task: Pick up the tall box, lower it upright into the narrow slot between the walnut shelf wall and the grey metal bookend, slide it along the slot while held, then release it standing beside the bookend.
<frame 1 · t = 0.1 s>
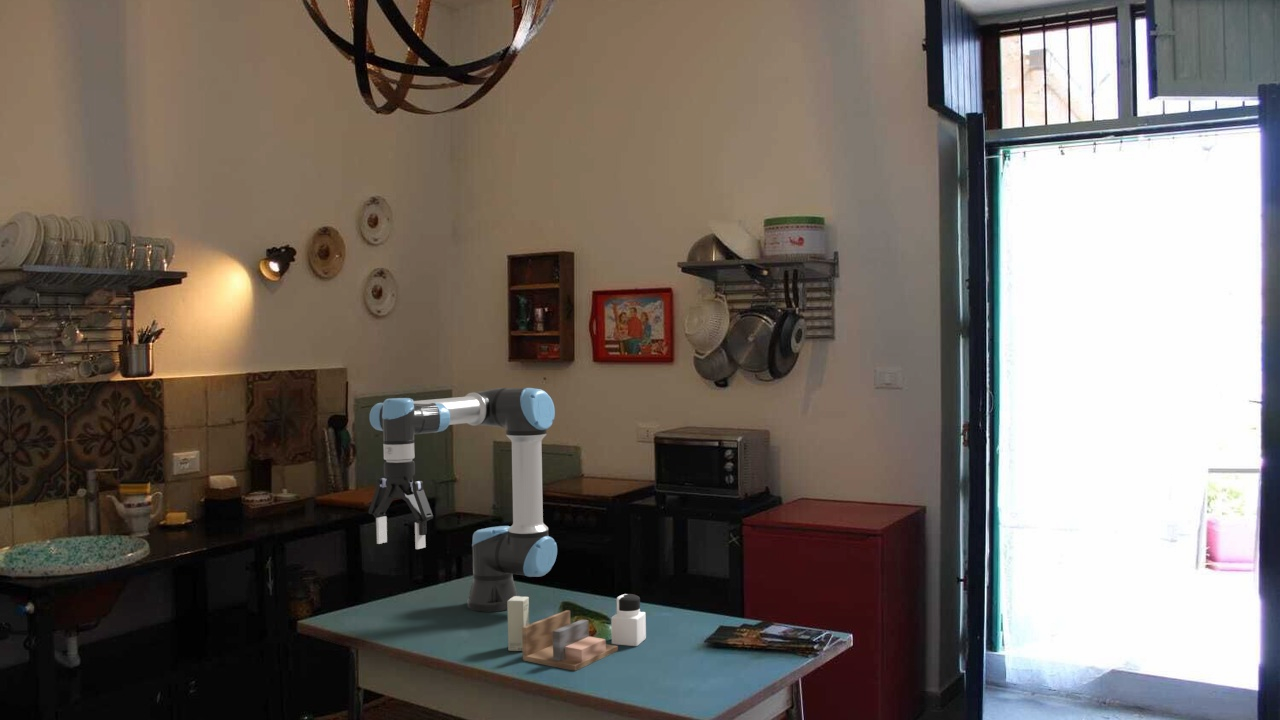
hand: (400, 545, 255), 28 cm above the table, fingers open, 13 cm apart
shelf: (571, 655, 255), on the table
medicine bottle: (628, 642, 266), on the table
box: (519, 649, 261), on the table
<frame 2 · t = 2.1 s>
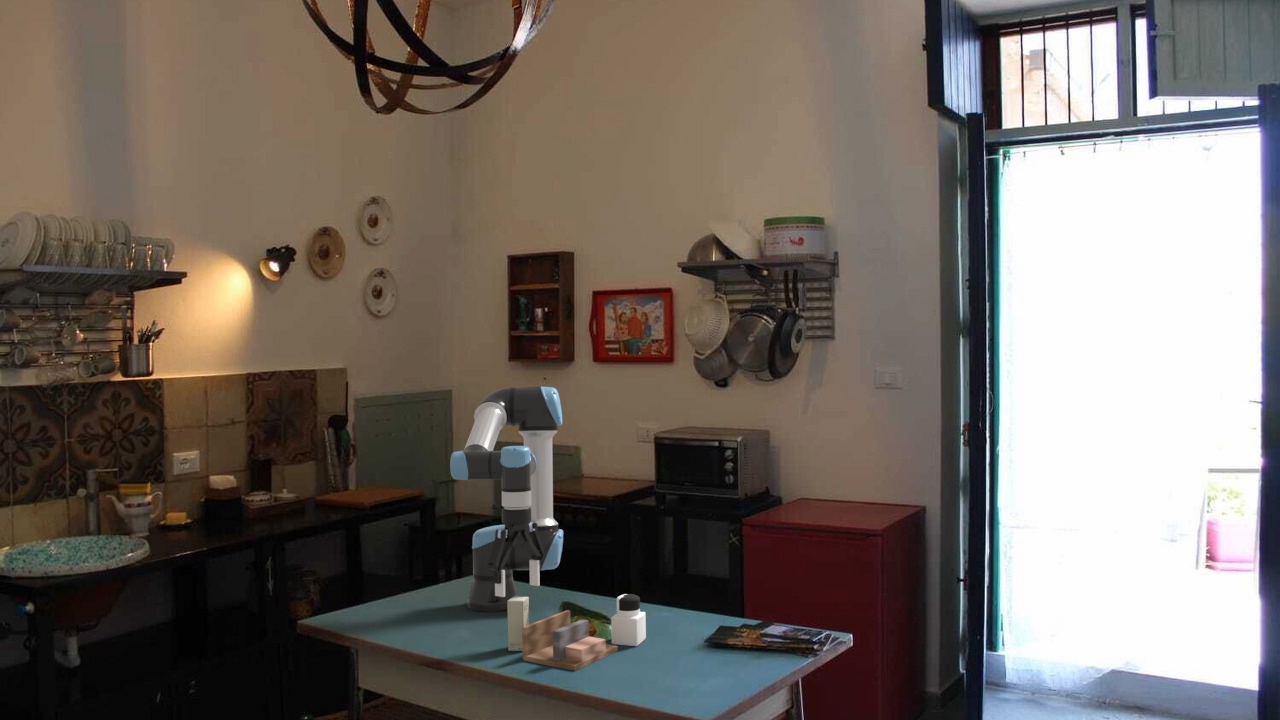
hand: (517, 590, 261), 15 cm above the table, fingers open, 13 cm apart
nothing on the table moved.
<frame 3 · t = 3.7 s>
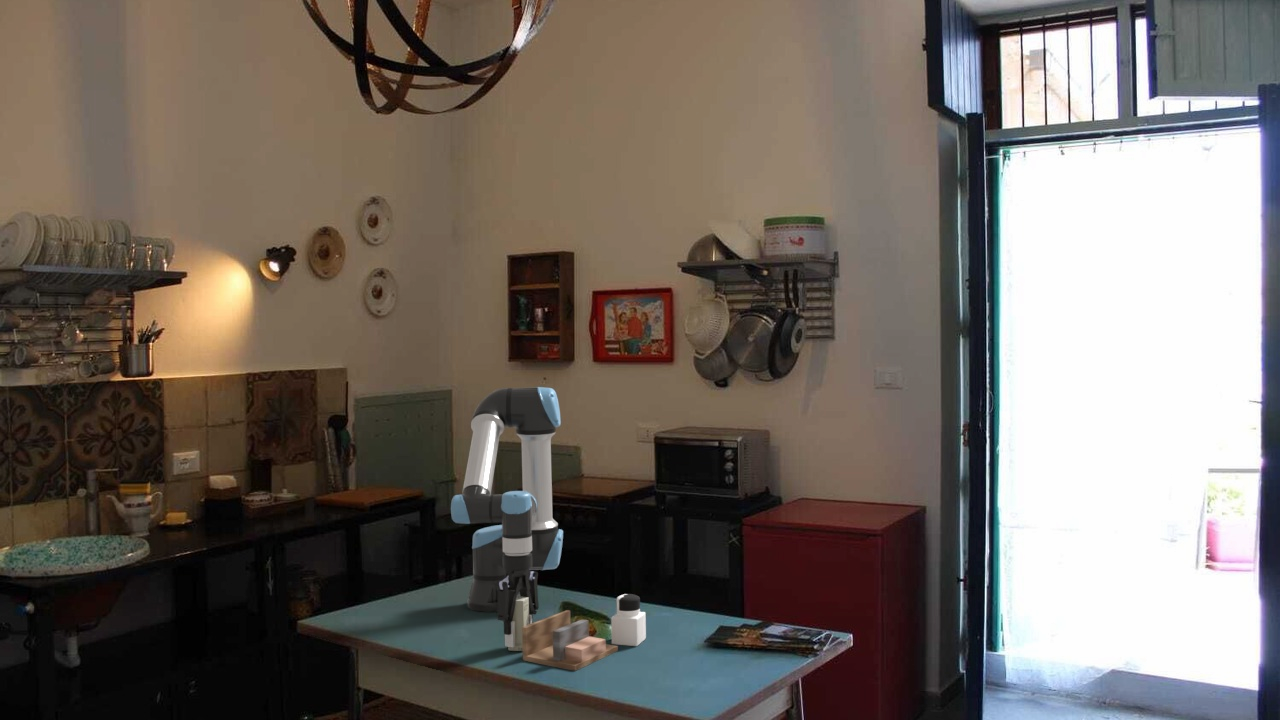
hand: (518, 642, 261), 1 cm above the table, fingers closed on box, 6 cm apart
box: (519, 649, 261), on the table, touching gripper
everything else where it was.
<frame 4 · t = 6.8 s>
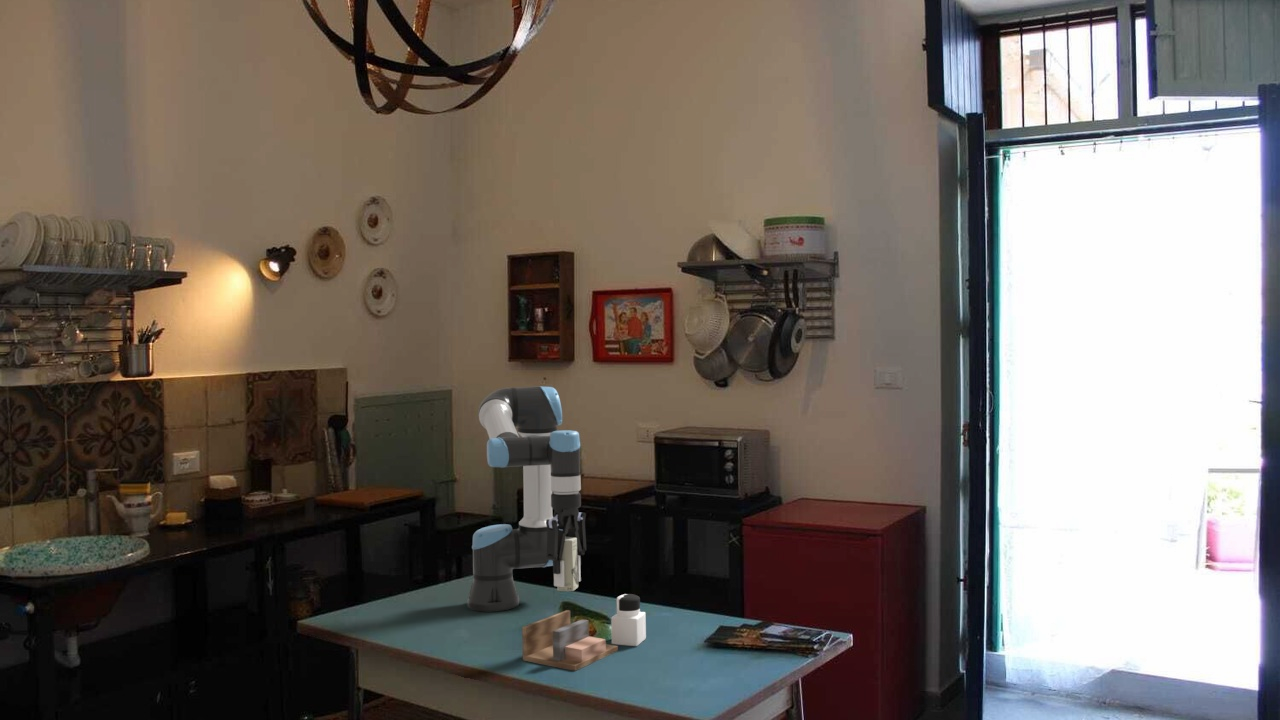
hand: (567, 583, 258), 17 cm above the table, fingers closed on box, 6 cm apart
box: (568, 589, 258), point 15 cm above the table, touching gripper
everything else where it was.
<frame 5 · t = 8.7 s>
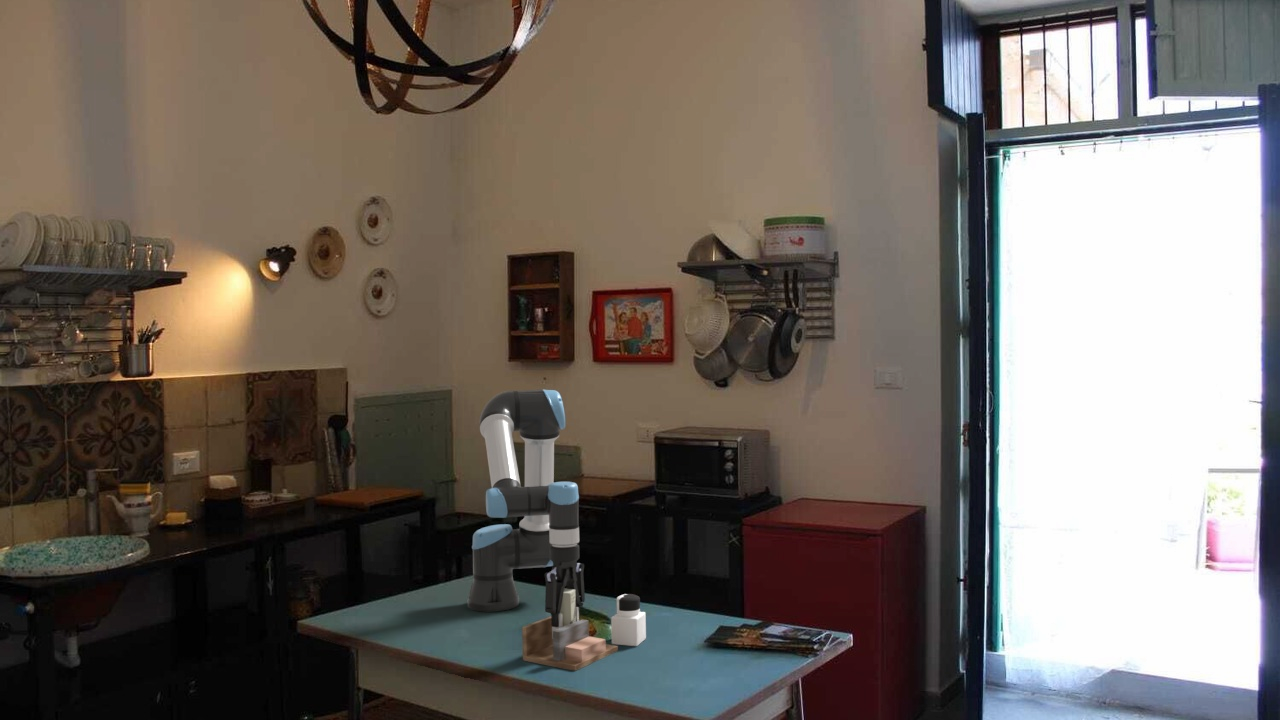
hand: (565, 635, 258), 4 cm above the table, fingers closed on box, 6 cm apart
box: (566, 642, 258), point 2 cm above the table, touching gripper
everything else where it was.
when the fingers open (4 cm above the table, at t = 10.2 s): box drops 1 cm, resting on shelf.
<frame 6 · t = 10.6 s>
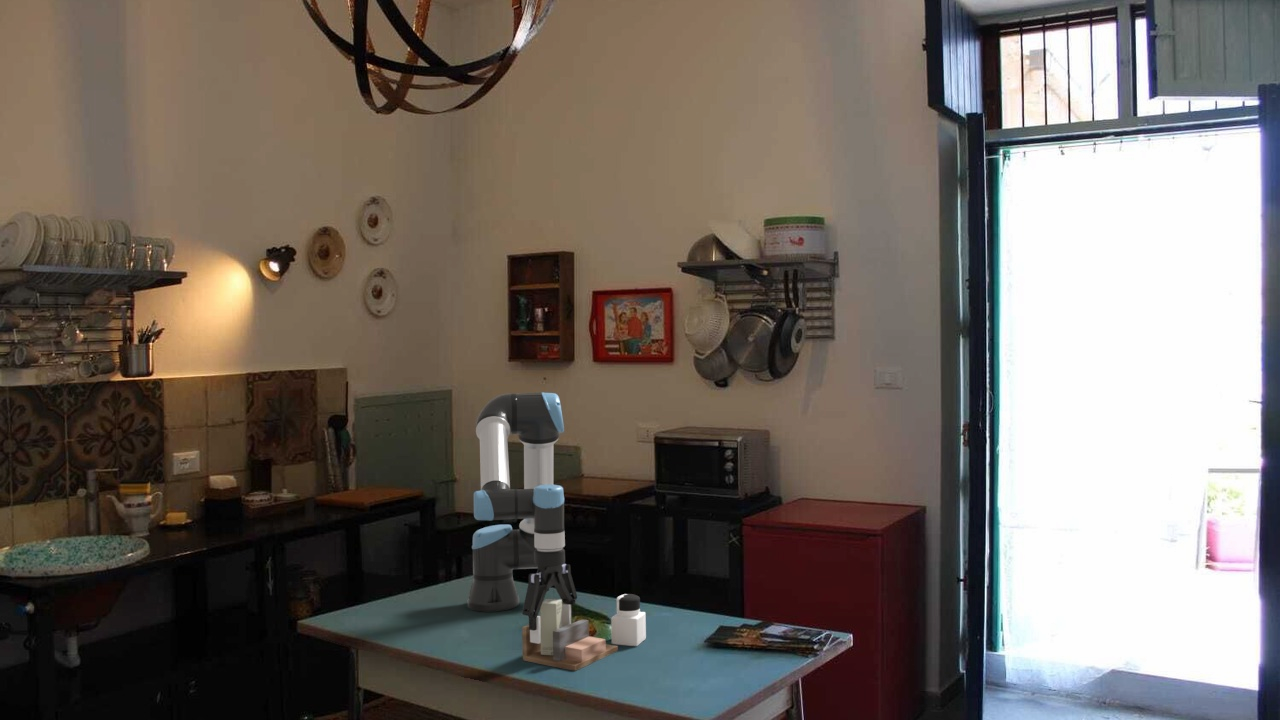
hand: (551, 636, 253), 5 cm above the table, fingers open, 11 cm apart
box: (552, 653, 253), point 1 cm above the table, touching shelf
everything else where it was.
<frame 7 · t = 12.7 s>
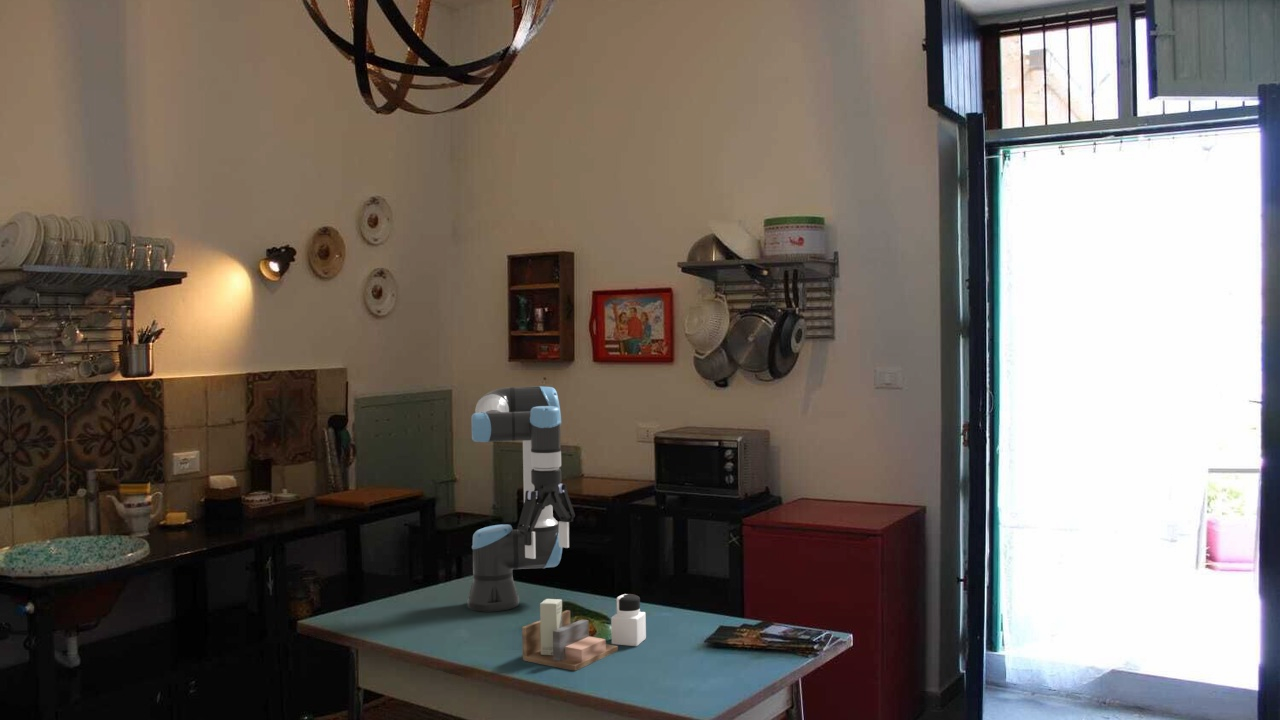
hand: (547, 552, 257), 25 cm above the table, fingers open, 13 cm apart
nothing on the table moved.
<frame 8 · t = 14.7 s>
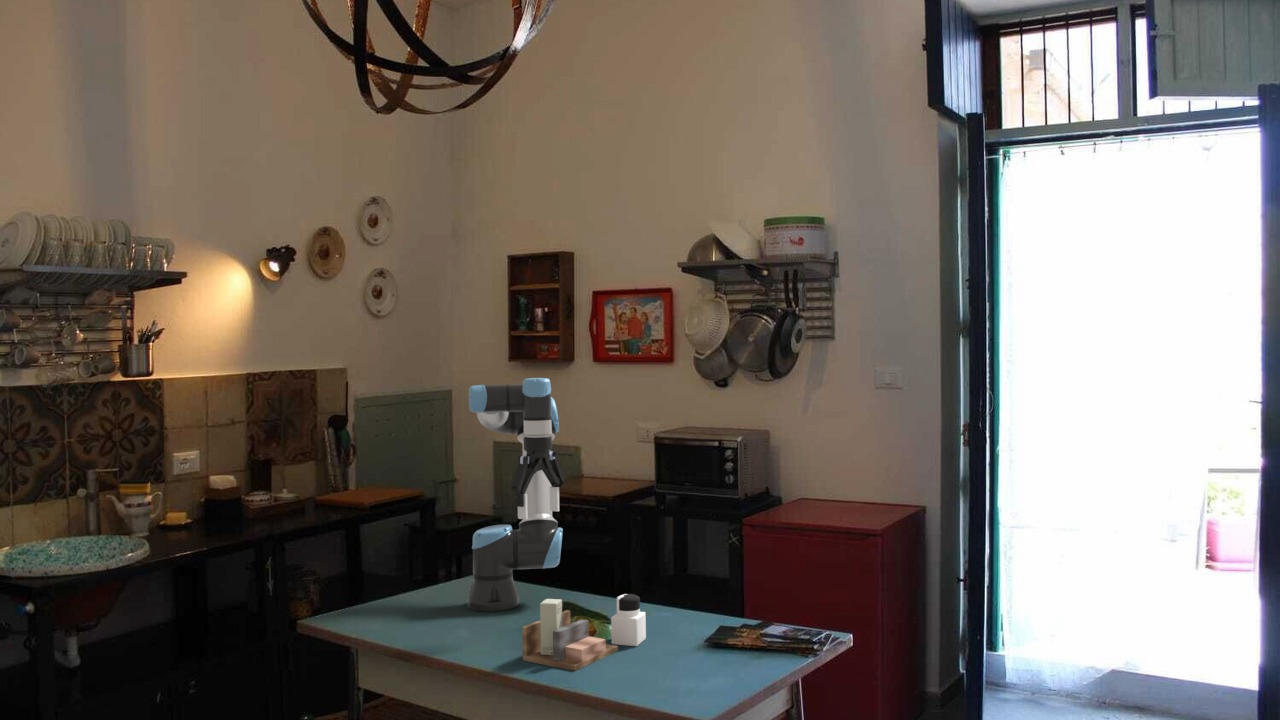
hand: (539, 514, 274), 32 cm above the table, fingers open, 13 cm apart
nothing on the table moved.
at the end: box inside the target area (0.6 cm from its centre), point 1.0 cm above the table; box tilted 0°; the gripper is holding nothing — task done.
